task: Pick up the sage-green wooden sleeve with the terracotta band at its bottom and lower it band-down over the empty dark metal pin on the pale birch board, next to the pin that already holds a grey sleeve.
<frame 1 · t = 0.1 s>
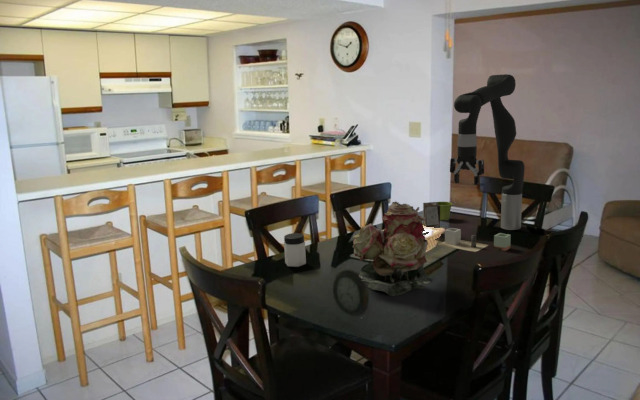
hand: (466, 183, 217), 29 cm above the table, tool pointing down, fingers open, 8 cm apart
pin board: (463, 247, 228), on the table
grey sleeve: (452, 242, 231), point 1 cm above the table, touching pin board
plant pot: (443, 219, 276), on the table
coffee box: (431, 238, 245), on the table
rose bouquet: (396, 282, 192), on the table
sage sleeve: (502, 248, 224), on the table
jar: (295, 264, 217), on the table
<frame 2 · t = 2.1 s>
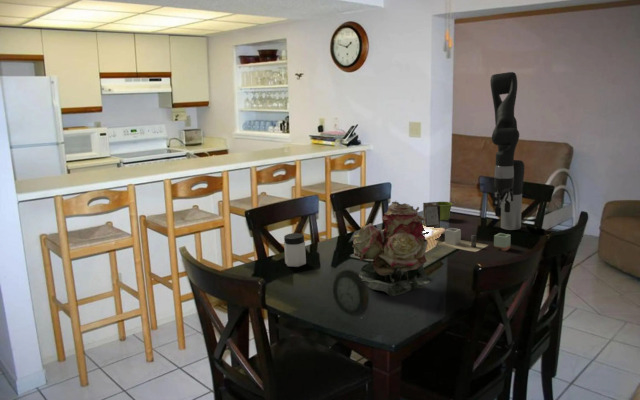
hand: (502, 214, 221), 15 cm above the table, tool pointing down, fingers open, 8 cm apart
nothing on the table moved.
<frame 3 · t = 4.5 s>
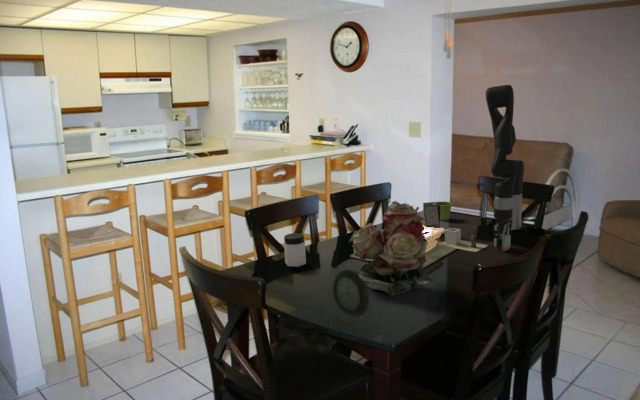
hand: (502, 245, 224), 1 cm above the table, tool pointing down, fingers closed on sage sleeve, 5 cm apart
sage sleeve: (502, 248, 224), on the table, touching gripper
everything else where it was.
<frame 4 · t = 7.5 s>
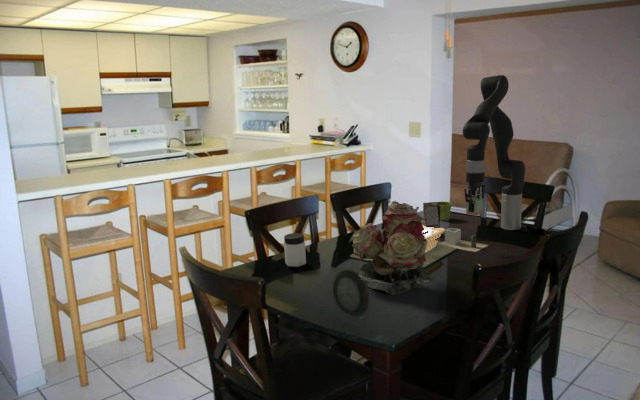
hand: (474, 210, 221), 17 cm above the table, tool pointing down, fingers closed on sage sleeve, 5 cm apart
sage sleeve: (474, 213, 221), point 16 cm above the table, touching gripper
everything else where it was.
when the fingers open (4 cm above the table, at t = 10.8 s): sage sleeve drops 1 cm, resting on pin board.
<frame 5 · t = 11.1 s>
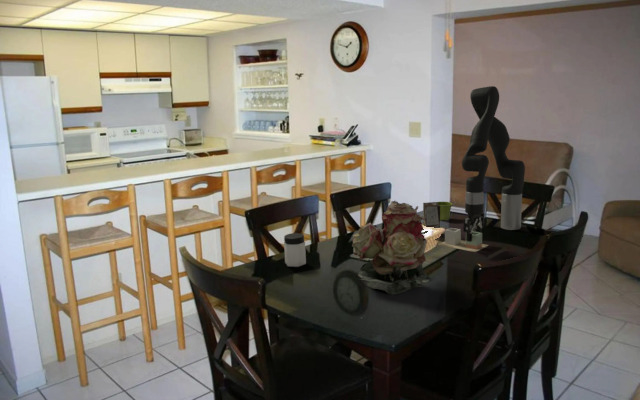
hand: (473, 239, 224), 5 cm above the table, tool pointing down, fingers open, 7 cm apart
sage sleeve: (473, 246, 224), point 1 cm above the table, touching pin board
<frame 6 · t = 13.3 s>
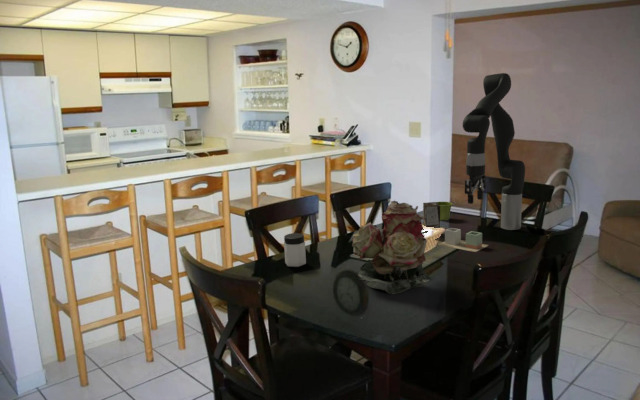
hand: (475, 201, 222), 21 cm above the table, tool pointing down, fingers open, 8 cm apart
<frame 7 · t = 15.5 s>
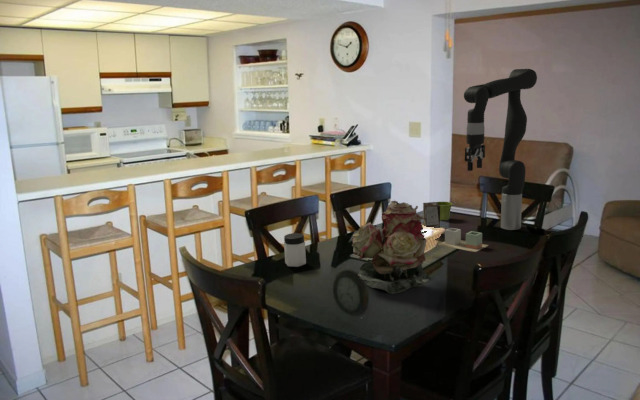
hand: (474, 169, 234), 32 cm above the table, tool pointing down, fingers open, 8 cm apart
at the end: sage sleeve 0.1 cm from the target spot on the pin board, point 1.2 cm above the pin board's base; sage sleeve tilted 0°; the gripper is holding nothing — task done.
